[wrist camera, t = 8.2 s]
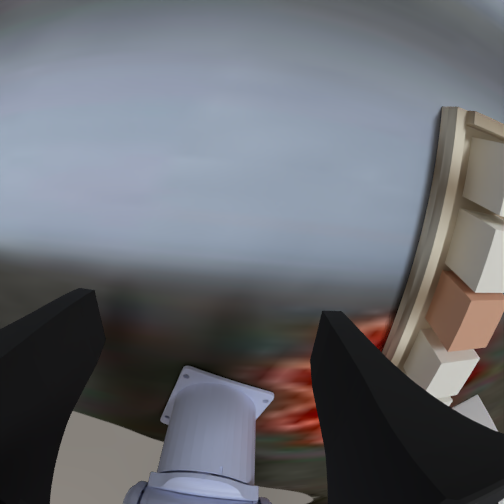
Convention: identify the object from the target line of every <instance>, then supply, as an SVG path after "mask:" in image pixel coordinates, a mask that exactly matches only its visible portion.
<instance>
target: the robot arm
mask: <svg viewBox="0 0 504 504" xmlns="http://www.w3.org/2000/svg"><path fill="white" fill-rule="evenodd" d="M105 340H106V338H105V334H104V330H103V326H102V322H101V318H100V313H99V309H98V304H97V300H96V295H95V290H89V289H83V288H79V289H76V290H74V291H71V292H69V293H67V294H65V295H63V296H61V297H59V298H58V299H56V300H54V301H52V302H50V303H48V304H47V305H45V306H43V307H41V308H39V309H38V310H36V311H34V312H32V313H30V314H29V315H27V316H25V317H23V318H21V319H19V320H17V321H15V322H13V323H11V324H10V325H8V326H6V327H4V328H2V329H0V504H50V493H51V485H52V479H53V473H54V468H55V463H56V459H57V455H58V451H59V447H60V444H61V440H62V437H63V434H64V431H65V428H66V425H67V422H68V420H69V417H70V414H71V413H72V411H73V409H74V407H75V405H76V403H77V401H78V399H79V397H80V395H81V393H82V391H83V389H84V387H85V385H86V383H87V382H88V380H89V378H90V376H91V374H92V372H93V370H94V368H95V366H96V364H97V362H98V359H99V357H100V354H101V351H102V348H103V346H104V343H105ZM310 363H311V377H312V388H313V393H314V398H315V403H316V408H317V413H318V417H319V422H320V427H321V432H322V437H323V442H324V447H325V454H326V465H327V482H328V504H498V502H500V501H501V500H502V499H504V434H503V433H500V432H497V431H495V430H492V429H490V428H488V427H486V426H484V425H482V424H480V423H477V422H475V421H473V420H471V419H470V418H468V417H466V416H464V415H462V414H460V413H459V412H457V411H456V410H454V409H452V408H451V407H449V406H447V405H446V404H444V403H443V402H441V401H440V400H438V399H437V398H435V397H434V396H432V395H431V394H430V393H428V392H427V391H426V390H424V389H423V388H422V387H420V386H419V385H418V384H416V383H415V382H414V381H413V380H411V379H410V378H409V377H408V376H407V375H405V374H404V373H403V372H402V371H401V370H400V369H399V368H398V367H396V366H395V365H394V364H393V363H392V362H391V361H390V360H389V359H388V358H387V357H386V356H385V355H384V354H383V353H382V352H381V351H380V350H379V349H378V348H377V347H376V346H375V345H374V344H373V343H372V342H371V341H370V340H369V339H368V338H367V337H366V336H365V335H364V334H363V333H362V332H361V331H360V330H359V329H358V328H357V327H356V326H355V325H354V324H353V322H352V321H351V320H350V319H349V318H348V317H347V316H346V315H345V314H344V313H343V312H342V311H322V314H321V319H320V323H319V327H318V331H317V335H316V339H315V343H314V347H313V351H312V355H311V359H310ZM185 374H187V375H185ZM265 399H266V400H265ZM273 399H274V393H273V392H270V391H266V390H263V389H259V388H256V387H252V386H249V385H246V384H242V383H239V382H236V381H233V380H230V379H227V378H224V377H220V376H217V375H214V374H212V373H209V372H206V371H203V370H200V369H197V368H194V367H192V366H184V367H183V369H182V371H181V373H180V376H179V378H178V380H177V382H176V385H175V387H174V389H173V391H172V394H171V396H170V398H169V400H168V403H167V405H166V407H165V409H164V412H163V414H162V416H161V419H160V421H161V422H162V423H164V424H167V425H168V429H167V433H166V437H165V441H164V445H163V449H162V453H161V457H160V462H159V466H158V470H157V473H156V472H151V473H150V477H149V481H148V482H145V481H140V482H138V483H137V484H136V485H134V486H132V487H131V488H130V489H129V491H128V492H127V494H126V496H125V499H124V501H123V504H272V503H271V502H269V500H268V499H267V498H265V497H259V498H258V490H259V489H258V488H259V487H258V486H254V474H255V426H256V419H257V418H258V417H259V416H260V414H261V413H262V412H263V411H264V410H265V409H266V407H267V406H268V405H269V404H270V403H271V402H272V400H273Z"/></svg>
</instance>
